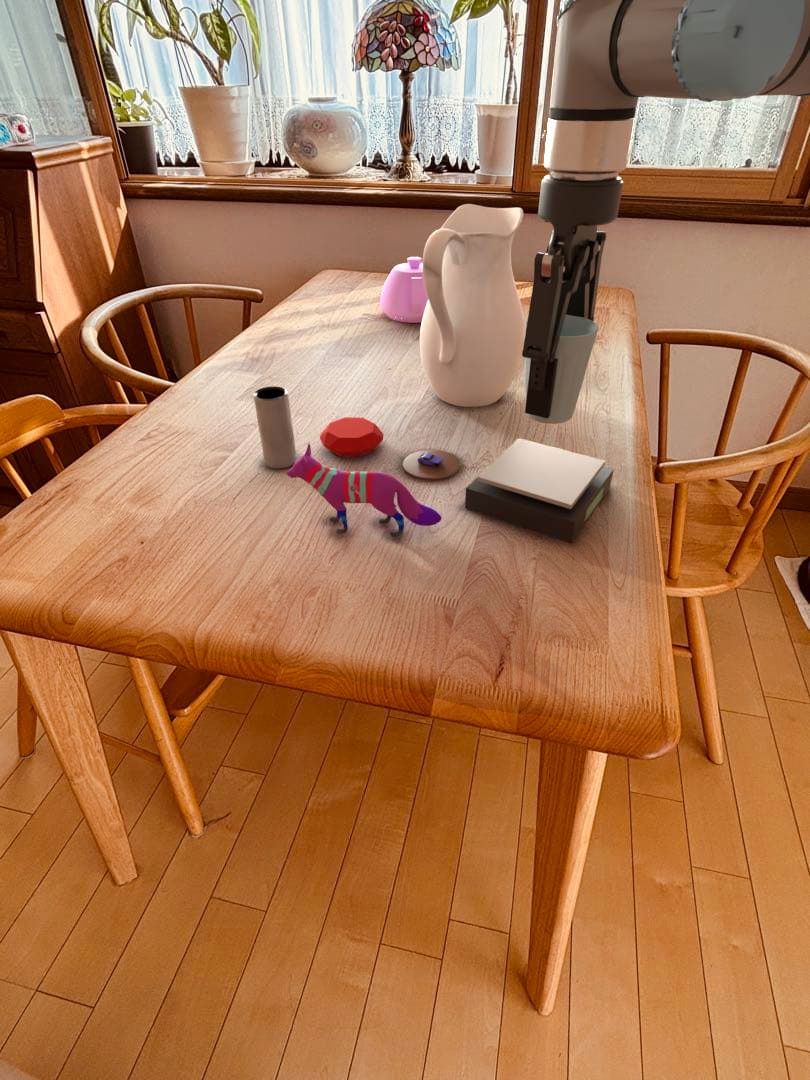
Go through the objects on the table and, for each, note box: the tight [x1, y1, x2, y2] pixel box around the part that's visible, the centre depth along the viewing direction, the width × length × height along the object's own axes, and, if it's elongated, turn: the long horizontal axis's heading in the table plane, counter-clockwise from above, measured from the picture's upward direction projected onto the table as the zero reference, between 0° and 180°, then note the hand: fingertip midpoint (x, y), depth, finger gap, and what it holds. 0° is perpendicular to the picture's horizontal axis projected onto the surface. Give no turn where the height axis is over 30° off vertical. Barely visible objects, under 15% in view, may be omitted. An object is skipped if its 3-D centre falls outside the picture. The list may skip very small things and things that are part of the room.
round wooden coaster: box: [402, 449, 462, 482], centre depth 87 cm, size 8×8×2 cm
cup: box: [524, 315, 599, 425], centre depth 70 cm, size 8×8×10 cm
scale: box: [464, 437, 615, 544], centre depth 79 cm, size 14×14×4 cm
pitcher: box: [419, 203, 525, 408], centre depth 96 cm, size 24×17×28 cm
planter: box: [252, 385, 298, 469], centre depth 86 cm, size 4×4×10 cm
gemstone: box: [319, 416, 385, 458], centre depth 91 cm, size 9×9×3 cm
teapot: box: [379, 256, 428, 324], centre depth 140 cm, size 22×16×12 cm
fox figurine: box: [285, 442, 443, 538], centre depth 72 cm, size 4×18×10 cm, turn 85°
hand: (551, 401), depth 72 cm, fingers closed on cup, 7 cm apart
